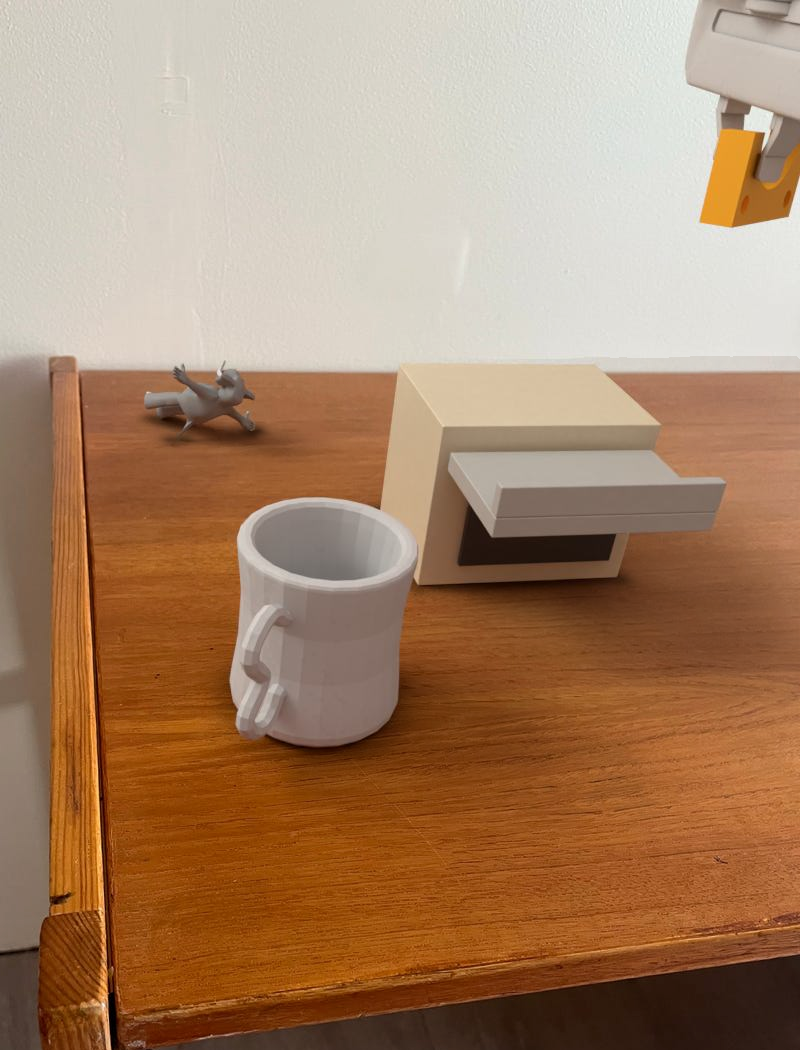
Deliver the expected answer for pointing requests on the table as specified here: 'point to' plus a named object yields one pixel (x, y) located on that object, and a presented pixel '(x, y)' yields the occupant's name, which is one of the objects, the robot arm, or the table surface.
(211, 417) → the grey sculpted figure
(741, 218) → the pipe clamp
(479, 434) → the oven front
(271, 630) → the mug
